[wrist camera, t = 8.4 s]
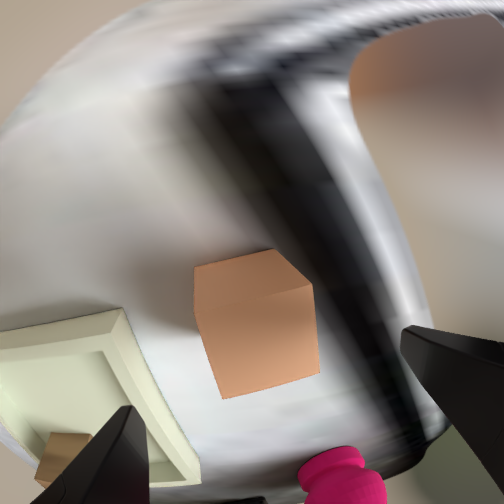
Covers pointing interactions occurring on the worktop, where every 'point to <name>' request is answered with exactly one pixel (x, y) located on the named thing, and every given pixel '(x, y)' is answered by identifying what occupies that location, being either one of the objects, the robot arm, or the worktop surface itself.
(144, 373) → the tray
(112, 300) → the worktop surface
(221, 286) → the peach block
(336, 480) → the pepper mill
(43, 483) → the walnut block
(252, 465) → the worktop surface
